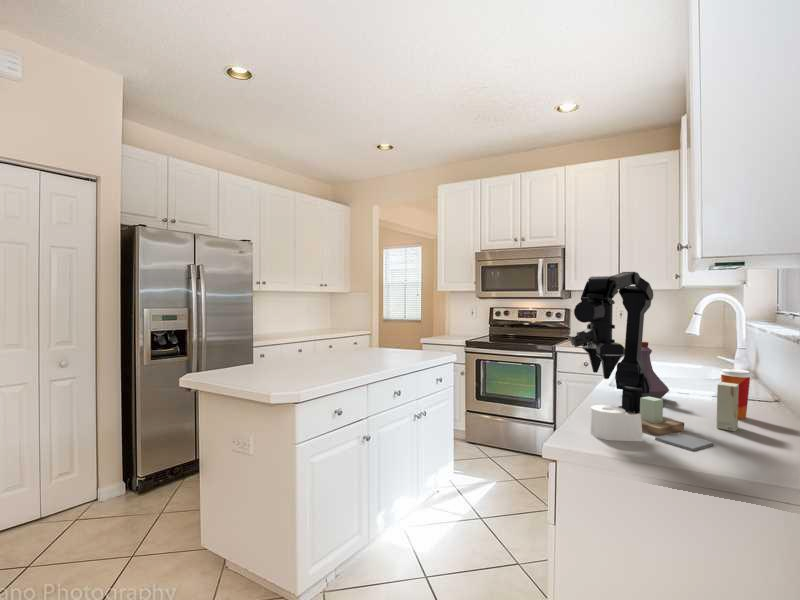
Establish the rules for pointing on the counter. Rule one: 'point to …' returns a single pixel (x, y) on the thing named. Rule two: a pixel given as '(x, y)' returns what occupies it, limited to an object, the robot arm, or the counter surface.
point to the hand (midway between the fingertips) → (600, 375)
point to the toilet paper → (615, 424)
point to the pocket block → (662, 427)
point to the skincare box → (727, 406)
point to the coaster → (684, 441)
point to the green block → (651, 409)
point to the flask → (652, 375)
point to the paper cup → (743, 381)
